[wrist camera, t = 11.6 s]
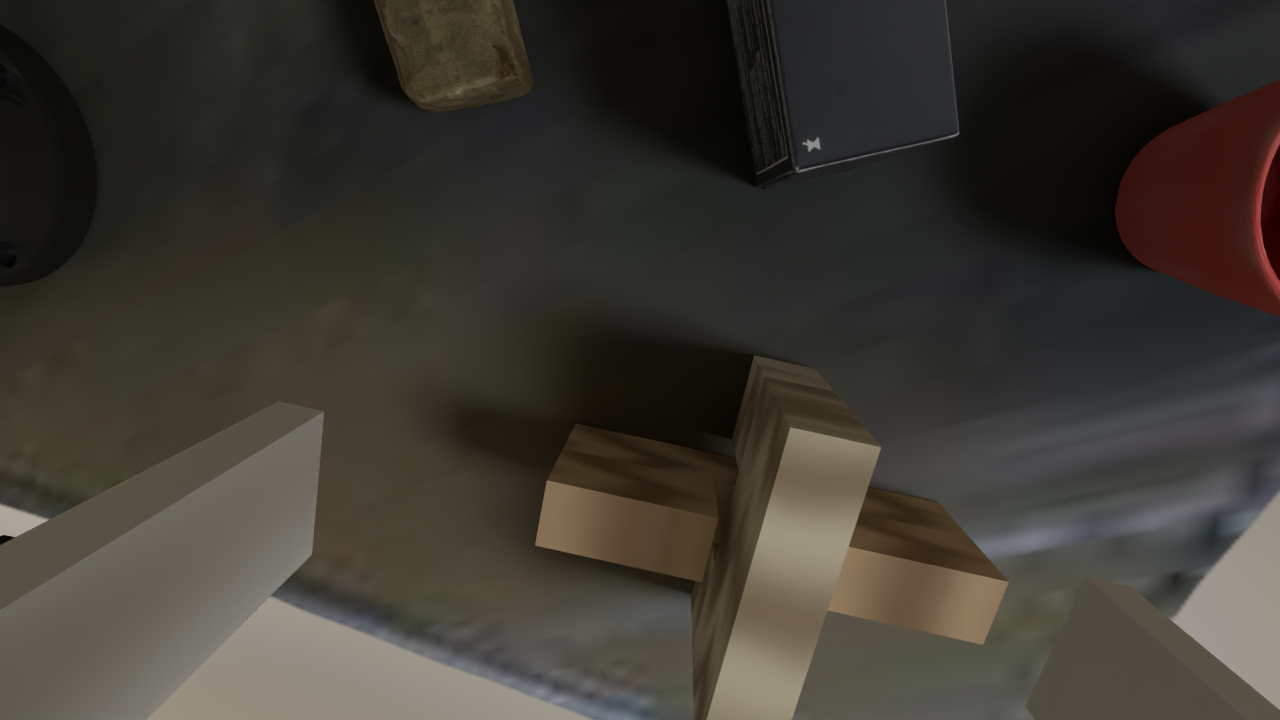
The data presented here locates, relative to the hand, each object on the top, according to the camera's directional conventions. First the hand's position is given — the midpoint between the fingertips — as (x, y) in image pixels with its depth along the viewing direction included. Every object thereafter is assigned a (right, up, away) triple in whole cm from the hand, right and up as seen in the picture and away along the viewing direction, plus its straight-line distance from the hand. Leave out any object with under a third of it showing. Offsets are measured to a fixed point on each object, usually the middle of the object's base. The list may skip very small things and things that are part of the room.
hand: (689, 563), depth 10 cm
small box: (+7, +18, +21) cm, 29 cm away
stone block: (-10, +22, +21) cm, 32 cm away
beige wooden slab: (+6, -4, +26) cm, 27 cm away
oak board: (+6, -4, +26) cm, 27 cm away
